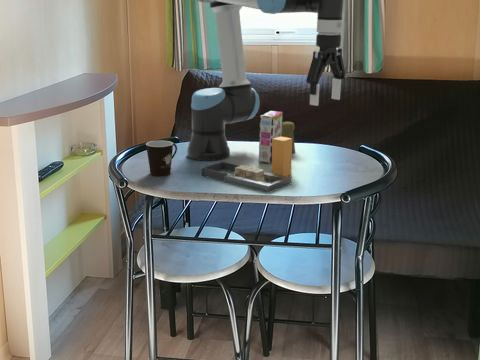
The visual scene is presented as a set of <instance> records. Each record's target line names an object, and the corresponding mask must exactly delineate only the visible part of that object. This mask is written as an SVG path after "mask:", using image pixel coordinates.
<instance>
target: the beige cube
mask: <svg viewBox="0 0 480 360" xmlns="http://www.w3.org/2000/svg"><path fill="white" fill-rule="evenodd" d="M252 168H254V167H253V166H249V165H244V164H242V166H239V167H236V168H235V172H234V175H236V176H240V177H244V178H246V170H249V169H252Z"/></svg>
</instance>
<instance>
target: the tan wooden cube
mask: <svg viewBox="0 0 480 360" xmlns="http://www.w3.org/2000/svg"><path fill="white" fill-rule="evenodd" d="M264 171H265V169H262V168H258V167H253V168H252V169H249V170H246V178H249V179H253V180H257V181H261V182H265V180H264Z"/></svg>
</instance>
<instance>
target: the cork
mask: <svg viewBox="0 0 480 360" xmlns="http://www.w3.org/2000/svg"><path fill="white" fill-rule="evenodd" d="M295 126H296V125H295V123H294V122H292V121H282V137H287V138H292V154H295V153H296V145H295V135H294V130H295V129H296V127H295Z"/></svg>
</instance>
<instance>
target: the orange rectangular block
mask: <svg viewBox="0 0 480 360" xmlns="http://www.w3.org/2000/svg"><path fill="white" fill-rule="evenodd" d="M292 154H293V153H292V138H287V137H281V136H280V137H277V138H274V139H272V163H271V173H274V174H279V175H283V176H288V175H289V176H291V175H292V163H293V162H292V157H293V156H292ZM289 176H288V177H289Z"/></svg>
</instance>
